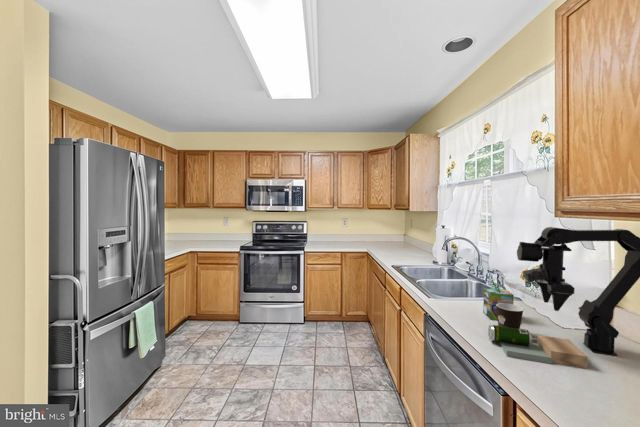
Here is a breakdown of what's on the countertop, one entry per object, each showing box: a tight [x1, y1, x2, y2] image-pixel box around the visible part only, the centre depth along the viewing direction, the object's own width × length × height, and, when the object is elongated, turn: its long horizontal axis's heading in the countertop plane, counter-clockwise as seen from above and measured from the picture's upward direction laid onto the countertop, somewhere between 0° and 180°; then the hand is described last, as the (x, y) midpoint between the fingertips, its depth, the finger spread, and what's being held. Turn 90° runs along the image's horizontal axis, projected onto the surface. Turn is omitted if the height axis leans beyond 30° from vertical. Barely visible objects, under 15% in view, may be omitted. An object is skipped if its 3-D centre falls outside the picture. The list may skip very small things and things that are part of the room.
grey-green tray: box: [498, 337, 553, 364], centre depth 98 cm, size 12×14×2 cm
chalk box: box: [482, 281, 515, 321], centre depth 127 cm, size 9×9×15 cm
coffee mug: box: [492, 303, 524, 329], centre depth 112 cm, size 12×9×10 cm
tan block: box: [536, 334, 588, 369], centre depth 94 cm, size 9×12×4 cm
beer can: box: [487, 324, 533, 346], centre depth 101 cm, size 5×5×12 cm
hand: (550, 306), depth 103 cm, fingers open, 9 cm apart
